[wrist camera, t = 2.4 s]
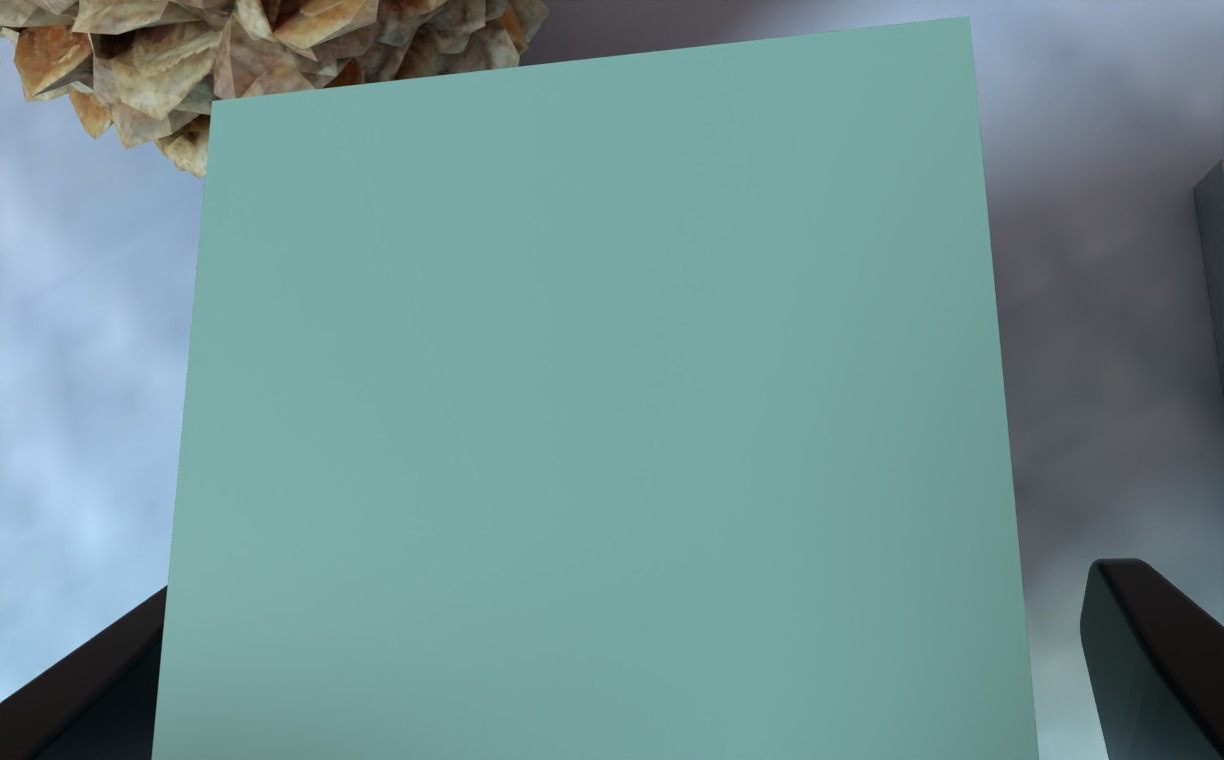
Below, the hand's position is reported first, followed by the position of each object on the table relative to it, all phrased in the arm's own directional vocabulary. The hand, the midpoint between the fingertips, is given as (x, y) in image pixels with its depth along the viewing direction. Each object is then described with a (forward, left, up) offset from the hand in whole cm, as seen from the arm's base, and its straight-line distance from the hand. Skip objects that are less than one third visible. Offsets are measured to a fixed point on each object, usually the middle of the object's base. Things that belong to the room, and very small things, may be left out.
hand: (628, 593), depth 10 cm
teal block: (+1, -1, -8) cm, 9 cm away
